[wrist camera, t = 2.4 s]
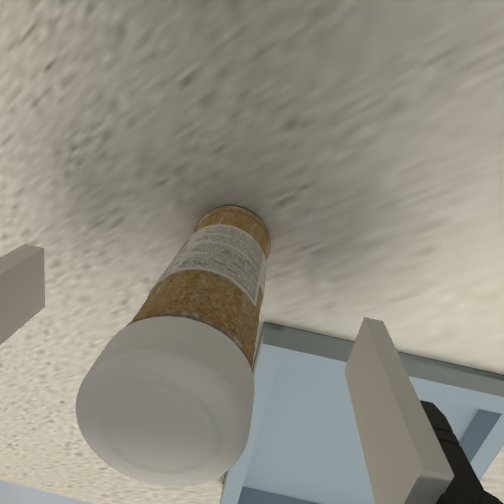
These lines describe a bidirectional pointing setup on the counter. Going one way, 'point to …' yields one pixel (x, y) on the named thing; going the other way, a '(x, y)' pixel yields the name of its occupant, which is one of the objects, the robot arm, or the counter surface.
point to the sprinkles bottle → (184, 361)
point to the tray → (342, 421)
